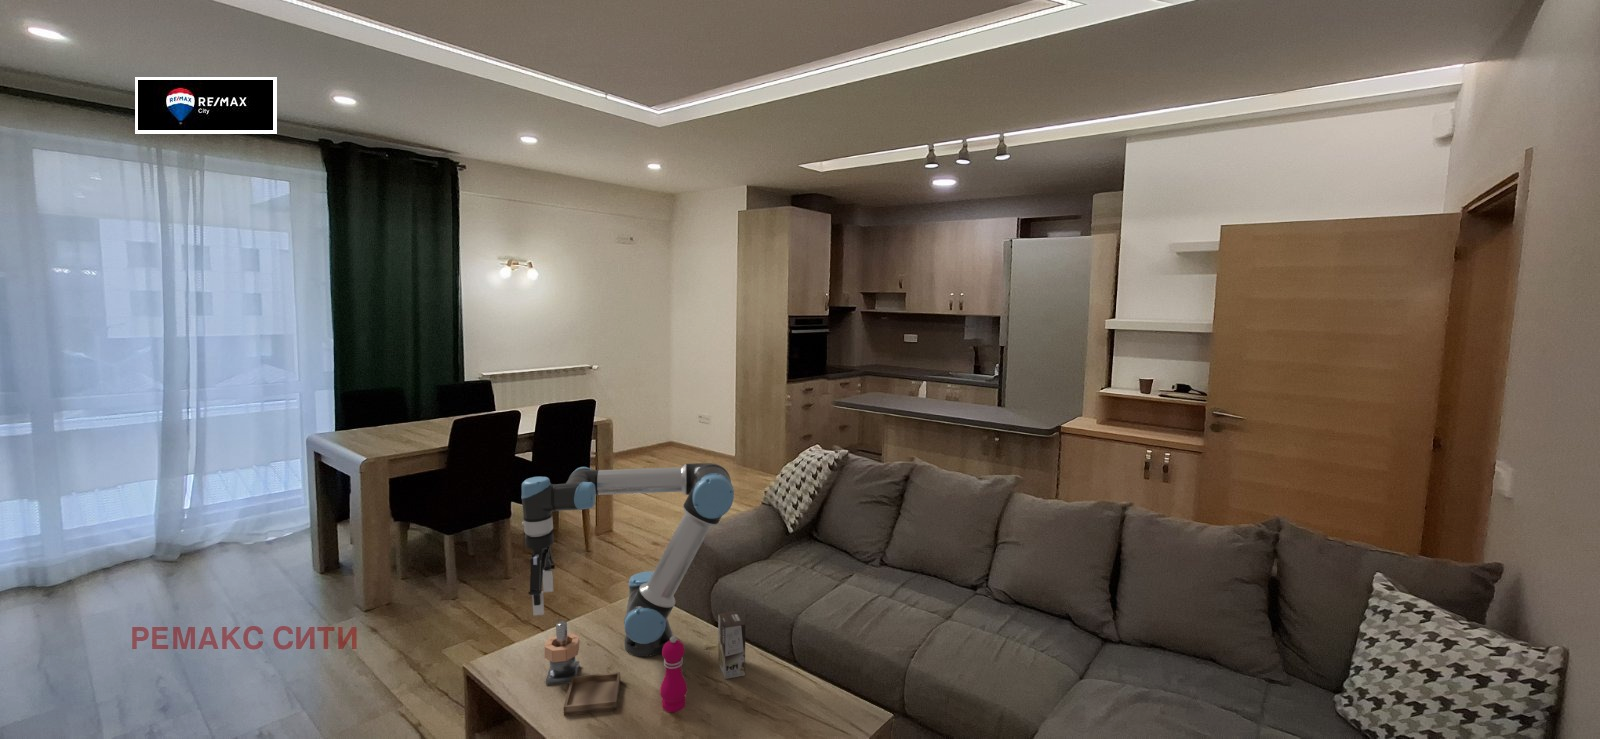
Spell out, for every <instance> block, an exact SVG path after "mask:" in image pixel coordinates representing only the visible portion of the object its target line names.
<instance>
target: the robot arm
mask: <svg viewBox="0 0 1600 739" xmlns="http://www.w3.org/2000/svg"><path fill="white" fill-rule="evenodd" d="M680 492H681V493H683V494H684V496H686V495H687V498H686V499H685V501H684V504H683V505H682V508H683V512H684V514H683V515H682V518H681V519H680V522H679V523H678V526H677V527H676V529H675V531H674V533H673V535H672V537H671V538H670V540H669V542H668V544H667V545H666V547H665V550H664V551H663V553H662V555H661V558H660V559H659V561H658V563H657V564H656V566H655V568H654V570H653V571H652V570H649V571H641V572H637V573H635V574H633V575H631V577H629V580H628V587H629V589H628V601H627V606H626V611H625V617H624V619H623V620H624V621H623V624H624V625H623V627H624V628H623V629H624V631H625V635H624V640H623V641H624V649H625V651H626V652H627V653H628V654H630V655H633V656H637V657H651V656H656V655H659V654H662V649H663V646H664V645H665V643H666V642H668V641H670V638H671V637H672V636H674V634H673V631H672V628H671V625H670V622H669V620H668V617H669V616H670V614H671V612H672V610H673V608H674V607H675V605H676V599H675V596H674V595H675V593H676V592H677V590H678V588H679V586H680V585H681V583H682V581H683V579H684V577H685V575H686V574H687V572H688V570H689V568H690V566H691V564H692V562H693V560H694V559H695V556H696V554H697V552H698V551H699V549H700V547H701V546H702V544H703V542H704V539H705V537H706V535H707V533H708V532H709V530H710V528H711V527H714V526H717V525H718V524H719V522H720V521H721V519H722V518H723V516H724V515H726V514H727V513H728V512H729V511H730V510H731V507H732V506H733V502H734V498H735V491H734V486H733V484H732V480H731V476H730V474H729V472H728V471H727V469H726V468H725V467H724V466H722V465H720V464H717V463H712V462H706V463H705V462H703V463H702V462H699V463H685V464H684V465H683V466H678V467H677V466H676V467H653V468H652V467H650V468H649V467H647V468H625V469H624V468H621V469H620V468H619V469H591V468H590V467H587V466H580V467H577V468H576V469H575V470H574V471H573V472H571V474H570V475H569V477H568V479H567V481H566V482H565V483H558V484H556V483H554V484H553V483H552V482H551V480H550V478H549V477H547V476H533V477H529V478H526V479H525V480H524V481H522V483H521V502H522V503H521V505H522V506H521V507H522V513H523V515H522V516H523V521H522V522H521V525H522V526H524V529H523V531H524V533H525V534H524V543H525V544H524V545H525V548H526V549H528V550H531V551H533V553H532V554H531V557H530V559H529V561H530V574H529V575H530V576H529V591H528V595H530V596H531V600H532V601H531V602H532V614H533V616H543V615H545V601H544V593H552V592H554V590H555V589H554V579H553V570H555V568H556V564H554V558H553V555H552V550H551V546H553V544H554V543H555V538H554V537H555V536H554V531H553V529H554V524H553V522H554V520H553V512H561V511H562V512H563V511H575V510H576V511H577V510H578V511H582V510H589V509H592V508H594V507H595V505H596V501H597V499H596V498H597V496H599V495H623V494H624V495H626V494H652V493H653V494H654V493H657V494H658V493H680Z"/></svg>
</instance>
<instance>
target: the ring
mask: <svg viewBox="0 0 1600 739" xmlns="http://www.w3.org/2000/svg"><path fill="white" fill-rule="evenodd" d="M567 641H568V645H566V646H564V647H557V641H556V634H555V635H553V636H551V637H550V638H547V639H546V642H545V644H544V658H545V659H546V660H548V661H549V662H550V661H551V662H561V661H567V660H569V659H571V658H573V657H575V658H576V657H577V656H578V655H579V651H580V636H579V635H576V634H574V633H572V632H567Z"/></svg>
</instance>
